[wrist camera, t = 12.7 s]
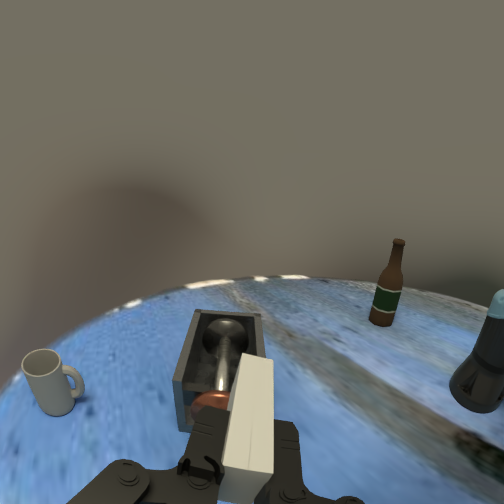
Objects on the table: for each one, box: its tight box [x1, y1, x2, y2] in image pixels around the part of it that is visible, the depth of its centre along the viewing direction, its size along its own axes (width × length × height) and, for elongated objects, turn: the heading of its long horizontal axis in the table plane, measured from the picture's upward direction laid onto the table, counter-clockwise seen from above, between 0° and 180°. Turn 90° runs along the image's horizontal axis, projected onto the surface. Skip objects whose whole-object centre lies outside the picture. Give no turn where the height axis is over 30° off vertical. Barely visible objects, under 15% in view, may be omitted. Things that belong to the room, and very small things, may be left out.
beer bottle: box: [369, 239, 405, 327], centre depth 69 cm, size 8×8×24 cm
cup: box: [21, 349, 85, 416], centre depth 32 cm, size 7×10×9 cm
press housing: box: [172, 309, 266, 433], centre depth 42 cm, size 20×12×11 cm, turn 1°
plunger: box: [190, 318, 249, 421], centre depth 38 cm, size 18×8×8 cm, turn 1°
